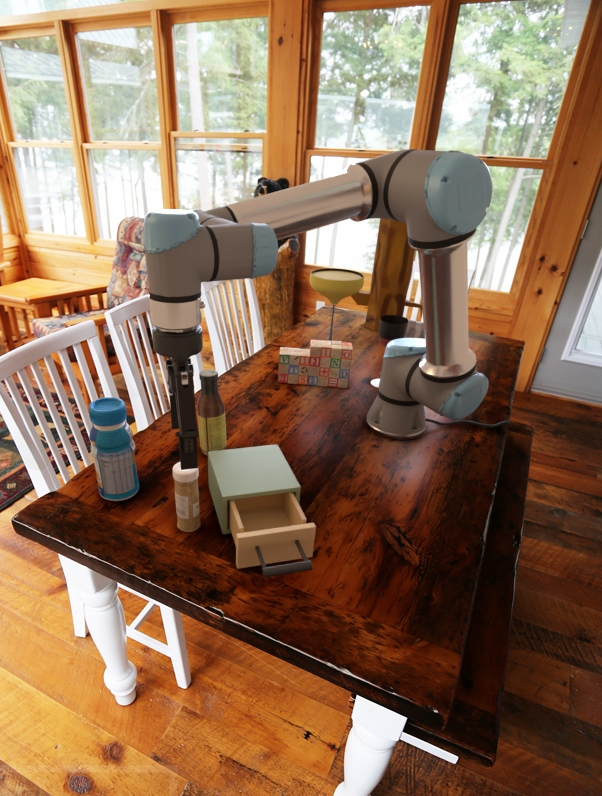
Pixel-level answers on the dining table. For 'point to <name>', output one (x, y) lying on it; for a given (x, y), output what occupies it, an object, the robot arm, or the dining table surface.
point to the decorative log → (389, 275)
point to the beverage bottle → (113, 449)
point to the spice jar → (187, 498)
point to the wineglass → (390, 332)
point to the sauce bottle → (211, 414)
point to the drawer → (271, 533)
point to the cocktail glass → (336, 285)
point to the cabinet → (248, 476)
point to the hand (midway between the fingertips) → (184, 446)
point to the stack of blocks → (316, 364)
